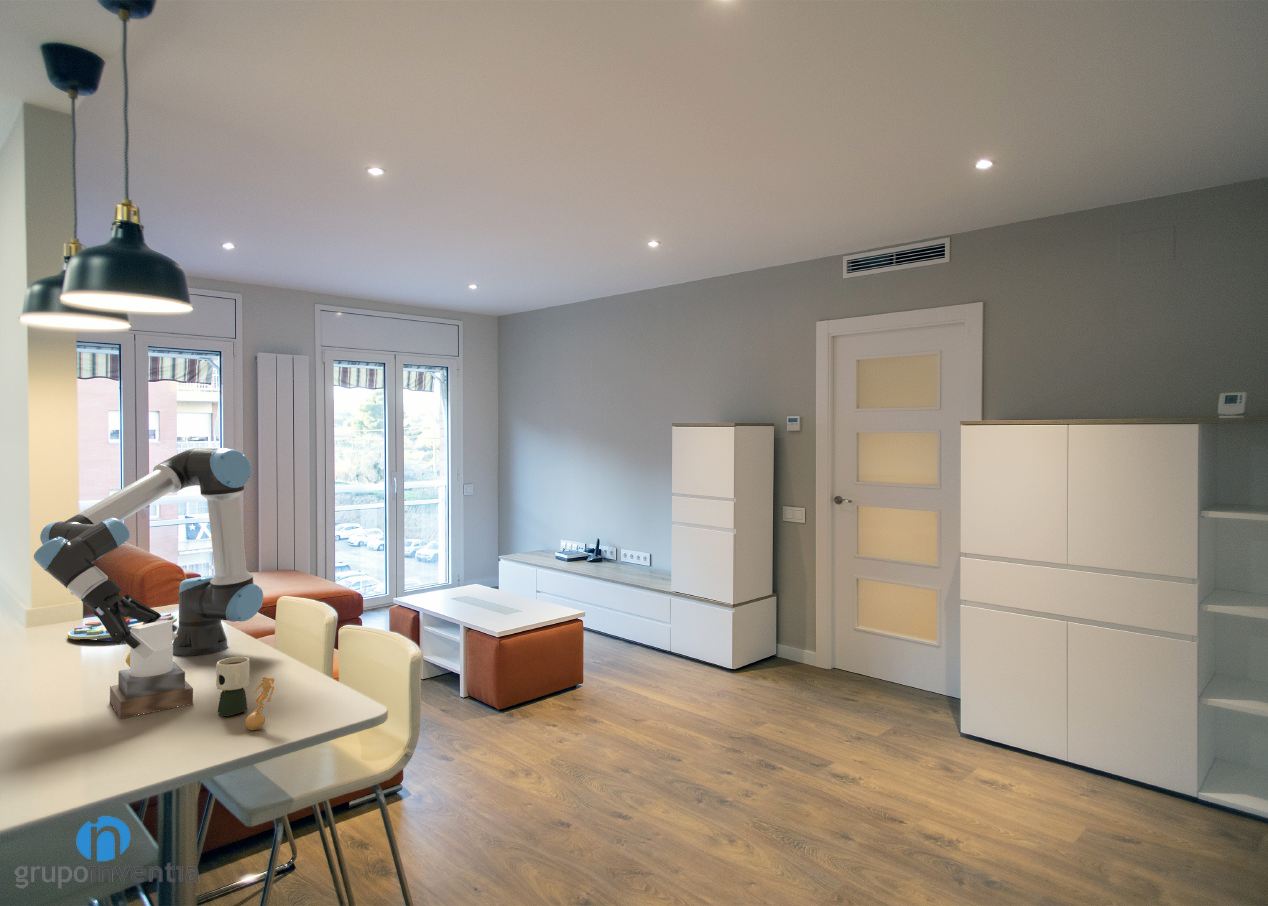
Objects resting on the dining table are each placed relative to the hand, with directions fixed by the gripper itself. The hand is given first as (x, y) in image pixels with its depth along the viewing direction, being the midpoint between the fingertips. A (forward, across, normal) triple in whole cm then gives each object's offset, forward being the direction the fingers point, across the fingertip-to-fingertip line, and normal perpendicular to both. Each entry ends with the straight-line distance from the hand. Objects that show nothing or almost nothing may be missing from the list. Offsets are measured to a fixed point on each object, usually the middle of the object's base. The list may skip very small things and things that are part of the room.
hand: (162, 647), depth 180 cm
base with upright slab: (+3, 0, -6) cm, 7 cm away
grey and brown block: (+8, 0, -12) cm, 14 cm away
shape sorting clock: (-18, -75, -39) cm, 87 cm away
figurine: (+31, +22, +10) cm, 39 cm away
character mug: (+24, +11, +4) cm, 27 cm away
